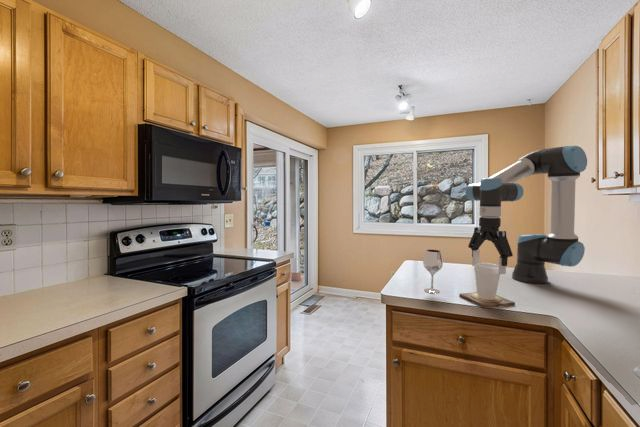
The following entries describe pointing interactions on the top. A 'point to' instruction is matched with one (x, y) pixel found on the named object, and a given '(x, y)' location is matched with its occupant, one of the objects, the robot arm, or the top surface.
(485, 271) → the foam cup
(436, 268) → the wineglass
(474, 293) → the stand board
